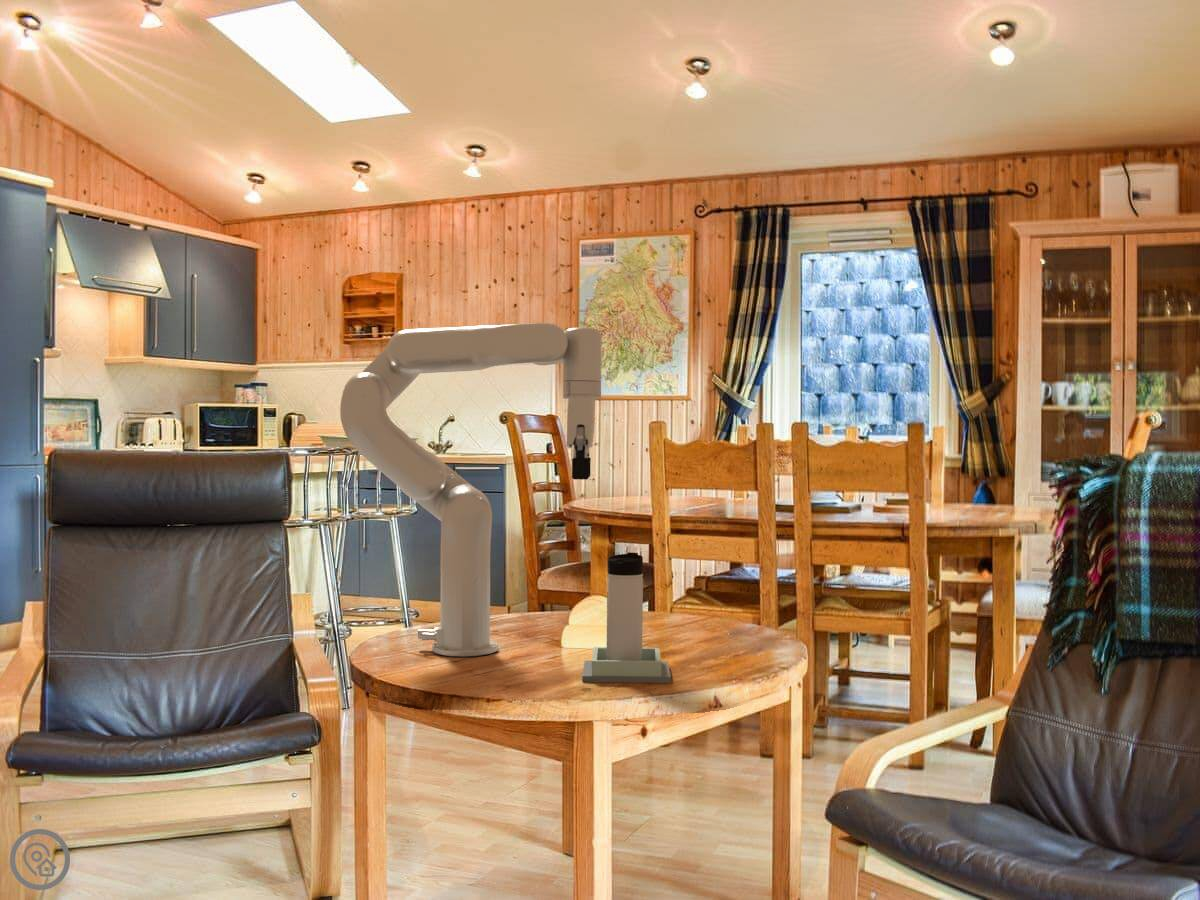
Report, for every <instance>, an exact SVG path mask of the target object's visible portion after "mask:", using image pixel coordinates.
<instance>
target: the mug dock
mask: <svg viewBox="0 0 1200 900" xmlns="http://www.w3.org/2000/svg"><path fill="white" fill-rule="evenodd" d="M583 663H584V664H583V669H582V676H581V677H582V678H581V681H585V682H584V683H626V684H627V683H636V684H637V683H639V684H641V683H642V684H643V683H644V684H646V683H647V684H671V683H672V677H671V675H672V674H671V671H670V665H669V662H668V661H666V660H665V661H664V660H662V656H661V651H660V647H642V661H626V660H607V646H605V647H603V646H602V647H601V646H600V647H599V646H598V647H597V646H595V647H594V646H593V650H592V658H591V660H584V662H583Z"/></svg>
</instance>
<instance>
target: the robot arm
mask: <svg viewBox="0 0 1200 900" xmlns="http://www.w3.org/2000/svg"><path fill="white" fill-rule="evenodd" d="M602 345H603V344H602V334H601V331H600V330H599V329H597V328H593V327H571V328H570V327H569V328H568V329H566V330H563V329H562V328H561V326H559V325H557V324H555V323H550V322H535V323H533V322H532V323H515V324H514V323H513V324H500V325H474V326H473V325H472V326H471V325H470V326H453V327H451V326H450V327H429V328H427V327H426V328H412V329H411V328H409V329H408V328H407V329H404V330H399V331H398V332H396V333H394V334H393V335H392V337H390V339H389V341H388V343H387V345H386V346H385V347H384V349H383V350H382V351H381V352H380V353H379V354H378V355H377V356H376V357H375V359H373V360H372V362H371V363H369V365H367V366H366V367H365V368H364V369H363V370H362V371H361V372H359V373H356V374H354V375H353V376H352V377H350V378H349V379H348V380H347V382H346V384H345V385H344V388H343V391H342V395H341V398H340V399H341V400H340V410H339V411H340V413H339V414H340V421H341V427H342V429H343V431H344V433H345V436H346V437H347V439H348V441H349V442H350V444H351V445H352V446H353V448H354V449H355V450H356V451H357V452H358V453H359V454H360V455H361V456H362V457H363V458H365V460H367V462H369V463H370V464H372V465H373V466H374V467H375V469H377V470H378V471H379V472H381V473H382V474H383V475H384V476H386V477H387V478H388V479H389V480H391V482H393V483H394V484H395V485H396V486H397V487H398V488H399V489H400V490H401V491H402V493H404V494H405V495H406V496H407V497H409V498H411V499H412V500H413V501H414V502H415V503H417V504H418V505H419V506H421V507H422V508H423V509H424V510H426V511H427V512H429V514H431V515H432V516H434V518H436V519H437V520H439V521H440V614H439V615H440V616H439V617H440V619H439V620H440V621H439V622H440V625H439V626H438V627H434V629H427V628H419V629H418V630H417V639H418V640H421V641H433V642H434V643H433V644H432V646H431V651H432V652H433V653H434V654H437V655H439V656H448V657H477V656H478V657H479V656H486V655H490V654H493V653H496V652H498V650H499V644H498V643H497V641H494V640H490V639H491V637H490V636H491V635H490V634H491V542H492V541H491V539H492V527H493V525H492V524H493V512H492V506H491V502H490V501H489V498H488V497H487V496H486V495H485V493H483V491H481V490H480V489H478V488H476V487H474V486H473V485H472V484H471V483H469V482H468V481H467V480H466V479H465V478H463V477H462V476H461V475H459V474H458V473H457V472H456V471H455V470H454V469H452V468H451V467H450V466H448V465H447V464H446V463H445V462H444V461H442V460H441V459H440V458H439V456H437V455H436V454H434V453H433V452H431V451H428V450H427V449H426V448H424V447H423V446H421V445H420V444H419V443H417V441H415V440H414V439H412V437H410V436H409V435H408V434H406V433H405V431H404V430H402V429H401V428H400V427H398V425H396V424H395V423H394V422H393V421H392V420H391V418H390V417H389V415H388V412H387V408H389V407H390V406H391V404H392V403H393V402H394V401H395V400H397V398H399V396H400V395H401V394H402V393H403V392H405V390H406V389H407V388H408V387H410V385H411V384H412V383H413V382H414V381H415V380H416V378H417V377H418V376H419V375H420V374H433V373H455V372H472V371H482V370H485V369H489V368H493V367H498V366H506V365H519V364H520V365H521V364H533V365H538V366H550V365H551V366H552V365H561V364H562V366H563V367H562V399H565V400H567V399H568V400H567V409H566V410H567V411H566V413H567V415H566V447H567V448H568V449H572V447H573V450H572V459H571V478H572V480H588V479H589V478H590V477H591V462H592V461H591V457H590V449H591V448H592V447H593V445H594V435H595V421H596V418H595V416H596V414H595V412H596V400H600V399H602Z"/></svg>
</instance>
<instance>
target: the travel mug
mask: <svg viewBox="0 0 1200 900" xmlns="http://www.w3.org/2000/svg"><path fill="white" fill-rule="evenodd" d="M643 567H644V557H643V555H640V554H639V553H638V552H632V551H631V552H630V551H628V552H627V553H622V554H614V555H611V556H609V557H608V558H607V573H606V574H607V579H606V580H607V581H606V585H607V586H606V647H607V660H626V661H642V648H643V624H644V623H643V618H644V617H643V615H644V613H643V611H644V610H643V609H644V608H643V607H644V603H643V599H644V596H643V595H644V578H643V576H644V573H643V572H644V570H643Z"/></svg>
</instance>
